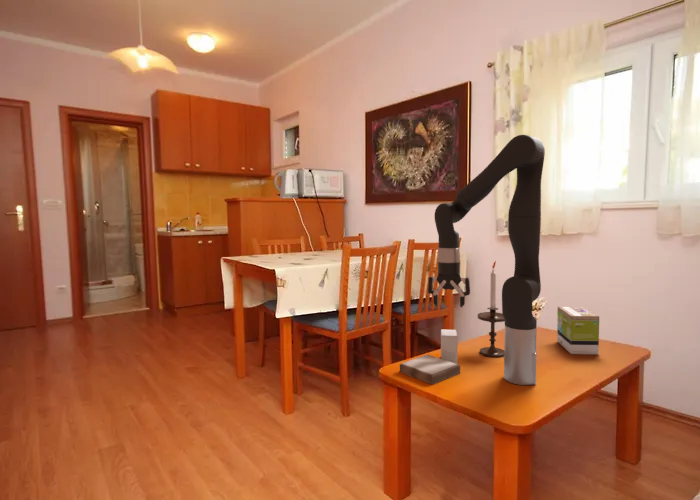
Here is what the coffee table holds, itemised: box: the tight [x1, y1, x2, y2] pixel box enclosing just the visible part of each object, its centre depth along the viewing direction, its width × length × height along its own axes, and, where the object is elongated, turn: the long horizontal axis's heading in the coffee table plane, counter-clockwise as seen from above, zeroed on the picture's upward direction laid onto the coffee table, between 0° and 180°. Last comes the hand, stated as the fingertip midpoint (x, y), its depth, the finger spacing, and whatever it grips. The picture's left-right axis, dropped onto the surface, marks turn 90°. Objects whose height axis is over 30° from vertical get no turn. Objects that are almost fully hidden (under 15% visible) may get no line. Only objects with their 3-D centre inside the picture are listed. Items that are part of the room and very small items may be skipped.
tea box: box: [556, 306, 600, 355], centre depth 160 cm, size 15×10×15 cm, turn 172°
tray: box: [399, 354, 461, 386], centre depth 139 cm, size 14×14×3 cm
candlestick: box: [477, 260, 505, 358], centre depth 155 cm, size 11×11×35 cm
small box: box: [440, 328, 458, 364], centre depth 149 cm, size 8×6×10 cm
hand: (448, 306), depth 147 cm, fingers open, 8 cm apart
